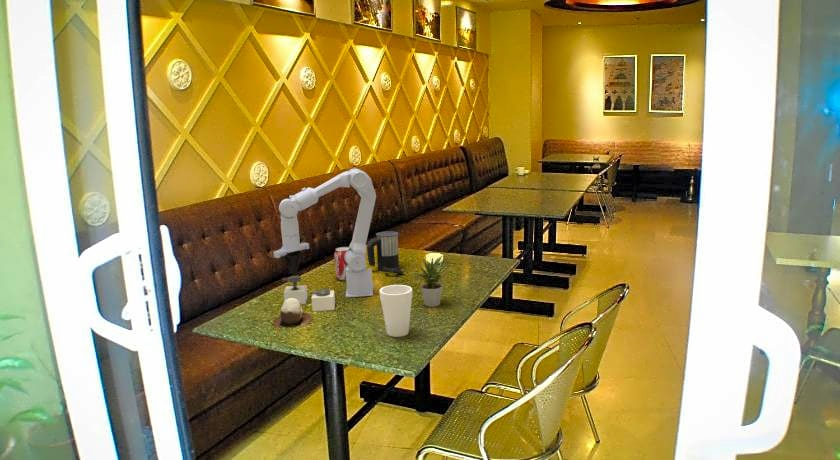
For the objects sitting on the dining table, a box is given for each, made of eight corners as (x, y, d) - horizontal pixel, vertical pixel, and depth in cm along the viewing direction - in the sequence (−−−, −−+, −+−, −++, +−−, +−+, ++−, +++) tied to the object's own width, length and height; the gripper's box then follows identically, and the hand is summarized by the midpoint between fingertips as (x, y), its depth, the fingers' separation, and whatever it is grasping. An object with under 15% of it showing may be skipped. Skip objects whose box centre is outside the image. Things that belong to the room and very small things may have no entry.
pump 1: (302, 287, 198) (301, 275, 197) (301, 291, 194) (300, 279, 193) (284, 289, 197) (282, 276, 197) (282, 293, 193) (281, 280, 192)
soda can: (350, 281, 217) (348, 251, 215) (333, 281, 219) (331, 250, 216) (356, 276, 224) (354, 246, 221) (339, 275, 225) (337, 246, 223)
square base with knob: (307, 297, 200) (306, 285, 199) (305, 304, 193) (304, 291, 192) (287, 298, 199) (286, 286, 199) (284, 305, 193) (283, 292, 192)
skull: (274, 312, 183) (293, 288, 182) (299, 331, 185) (319, 308, 184) (265, 324, 172) (286, 299, 170) (292, 345, 173) (313, 320, 172)
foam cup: (381, 327, 169) (379, 285, 167) (412, 325, 170) (410, 283, 168) (382, 340, 160) (379, 296, 158) (414, 337, 161) (413, 293, 158)
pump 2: (331, 301, 192) (330, 288, 191) (330, 306, 187) (329, 292, 186) (311, 302, 191) (310, 290, 190) (310, 307, 187) (309, 294, 186)
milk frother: (387, 264, 240) (385, 230, 237) (417, 269, 230) (416, 233, 227) (364, 272, 228) (362, 236, 225) (395, 278, 219) (393, 240, 216)
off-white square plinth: (335, 302, 193) (334, 290, 192) (334, 309, 186) (333, 296, 185) (314, 304, 193) (313, 291, 192) (312, 311, 186) (311, 298, 185)
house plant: (422, 293, 199) (421, 248, 196) (459, 298, 193) (458, 251, 190) (404, 307, 187) (401, 258, 183) (442, 312, 180) (441, 262, 177)
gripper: (297, 229, 200) (300, 266, 202) (265, 237, 188) (269, 277, 191) (312, 231, 196) (315, 269, 199) (280, 239, 184) (284, 280, 187)
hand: (293, 273), depth 194 cm, fingers closed
